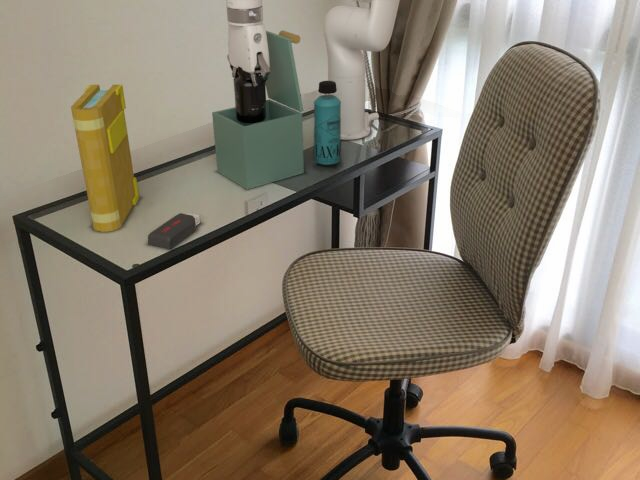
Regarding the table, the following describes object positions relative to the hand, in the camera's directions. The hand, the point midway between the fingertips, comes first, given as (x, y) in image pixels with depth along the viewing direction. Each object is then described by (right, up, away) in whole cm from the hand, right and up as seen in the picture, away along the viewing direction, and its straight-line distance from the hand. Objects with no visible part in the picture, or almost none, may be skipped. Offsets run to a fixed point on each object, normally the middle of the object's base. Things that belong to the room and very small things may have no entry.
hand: (250, 98), depth 175 cm
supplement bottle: (0, -4, +3) cm, 5 cm away
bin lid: (+6, +7, +1) cm, 9 cm away
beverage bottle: (+17, -13, +13) cm, 25 cm away
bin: (+1, -14, +10) cm, 18 cm away
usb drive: (-13, -32, -17) cm, 39 cm away
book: (-28, -27, -8) cm, 40 cm away
